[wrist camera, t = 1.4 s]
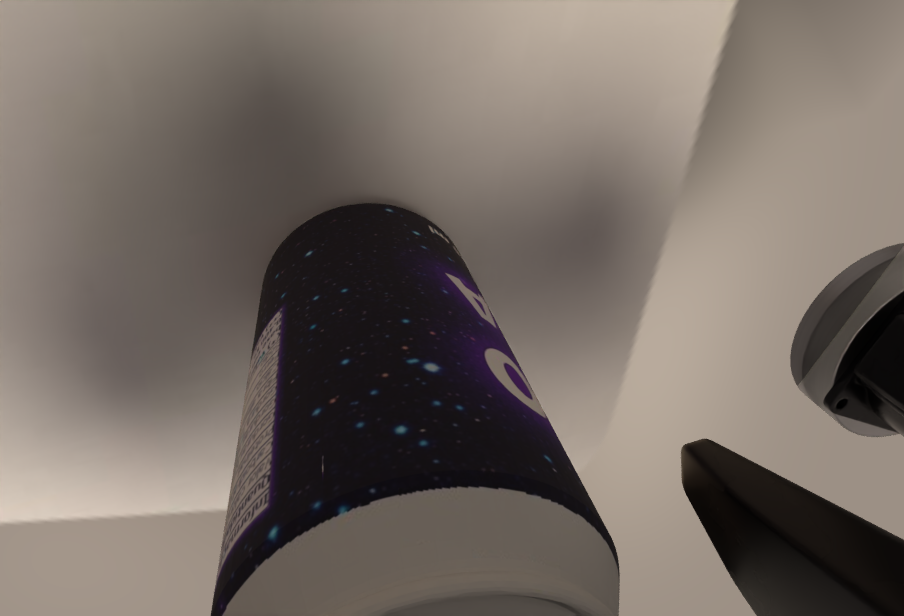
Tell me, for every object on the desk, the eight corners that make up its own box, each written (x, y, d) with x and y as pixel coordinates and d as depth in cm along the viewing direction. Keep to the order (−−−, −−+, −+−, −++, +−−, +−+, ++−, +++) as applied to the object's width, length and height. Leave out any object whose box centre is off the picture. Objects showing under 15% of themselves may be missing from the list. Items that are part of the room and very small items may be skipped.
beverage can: (387, 397, 20) (472, 865, 9) (224, 312, 17) (93, 825, 7) (500, 262, 18) (749, 642, 8) (339, 149, 16) (394, 486, 5)
